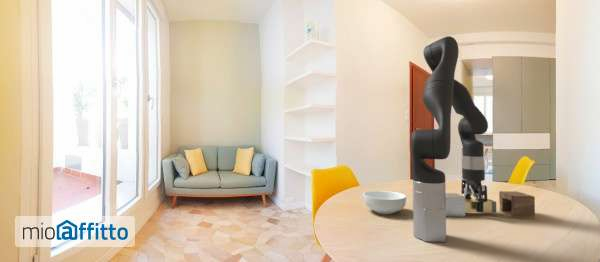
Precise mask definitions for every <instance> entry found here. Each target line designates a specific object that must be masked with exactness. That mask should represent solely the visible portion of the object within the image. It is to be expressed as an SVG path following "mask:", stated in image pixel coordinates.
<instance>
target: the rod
mask: <svg viewBox="0 0 600 262" xmlns="http://www.w3.org/2000/svg"><path fill="white" fill-rule="evenodd" d="M465 213H478V212H477V211H476V199H475V198H474V199H473V198H471V199H465ZM482 213H493V214H495V213H497V201H496V200H493V199H490V198H489V199H488V198H487V202H484V203H483V212H482Z"/></svg>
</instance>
